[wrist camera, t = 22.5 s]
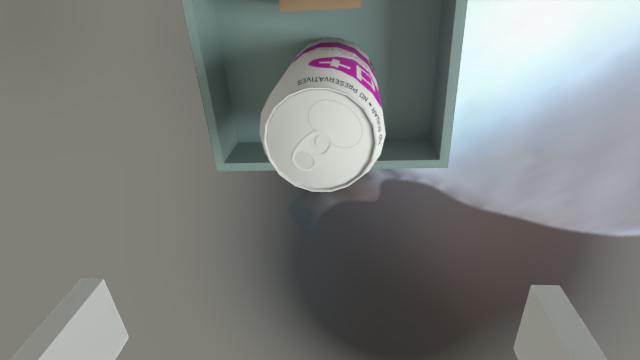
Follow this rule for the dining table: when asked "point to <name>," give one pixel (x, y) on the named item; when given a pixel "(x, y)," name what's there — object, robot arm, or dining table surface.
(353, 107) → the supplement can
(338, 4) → the walnut cube
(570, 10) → the dining table surface
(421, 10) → the tote
